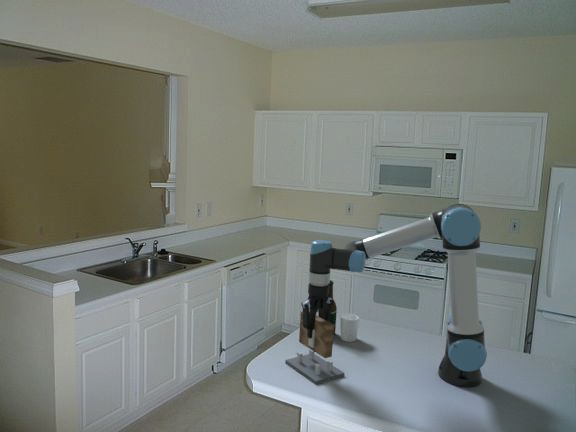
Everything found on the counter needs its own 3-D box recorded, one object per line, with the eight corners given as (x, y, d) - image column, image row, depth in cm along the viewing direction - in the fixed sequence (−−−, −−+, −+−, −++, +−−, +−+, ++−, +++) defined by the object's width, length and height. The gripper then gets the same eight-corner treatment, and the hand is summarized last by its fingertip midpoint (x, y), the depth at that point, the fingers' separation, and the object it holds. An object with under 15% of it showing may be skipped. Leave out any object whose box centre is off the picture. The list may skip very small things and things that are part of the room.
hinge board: (344, 375, 177) (345, 363, 177) (315, 384, 170) (316, 371, 169) (312, 355, 193) (313, 344, 192) (285, 362, 186) (285, 351, 185)
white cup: (343, 343, 207) (344, 320, 205) (336, 335, 214) (337, 314, 213) (360, 341, 209) (362, 319, 207) (353, 334, 216) (354, 313, 215)
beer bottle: (316, 335, 213) (319, 282, 210) (319, 329, 221) (322, 277, 217) (333, 338, 212) (337, 284, 208) (336, 331, 219) (339, 279, 216)
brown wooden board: (331, 356, 175) (333, 324, 173) (323, 358, 173) (325, 326, 171) (305, 340, 188) (307, 310, 186) (297, 342, 186) (298, 312, 184)
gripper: (329, 278, 184) (326, 337, 188) (294, 283, 175) (291, 345, 179) (342, 283, 178) (338, 344, 182) (307, 288, 169) (303, 353, 173)
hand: (315, 345), depth 180 cm, fingers closed on brown wooden board, 3 cm apart
